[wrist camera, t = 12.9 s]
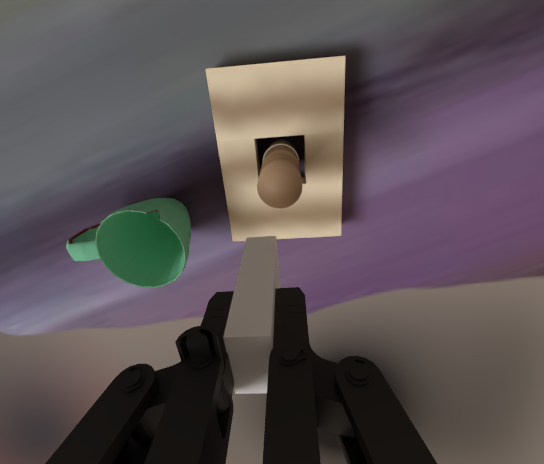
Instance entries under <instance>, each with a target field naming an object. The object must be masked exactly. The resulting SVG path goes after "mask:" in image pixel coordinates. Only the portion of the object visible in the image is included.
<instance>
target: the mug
mask: <svg viewBox="0 0 544 464" xmlns="http://www.w3.org/2000/svg"><path fill="white" fill-rule="evenodd" d="M190 239H191V224H190V217H189V213H188V211H187V208H186V207H185V206H184V204H183V203H181V202H180V201H178V200H176V199H173V198H155V199H149V200H145V201H142V202H138V203H135V204H131V205H129V206H126V207H124V208H121V209H118V210H116V211H115V212H113V213H112V214H111V215H109V216H108V217H107V218H105V219H104V220H103V221H102V222H101V223H100V224H98V225H95V226H92V227H90V228H87V229H84V230H83V231H81V232H79V233H78V234H76V235H75V236H73V237H72V238H70V239H69V240H68V242H67V246H66V248H67V250H68V252H69V254H70V255H71V257H72V258H73V259H74V260H75V261H88V260H95V259H101V260H102V262H103V264H104V265H105V267H106V268H107V269H108V270H110V271H111V272H112V273H113V274H114V275H115V276H116V277H118V278H120V279H121V280H123V281H125V282H127V283H129V284H132V285H135V286H139V287H147V288H156V287H161V286H165V285H168V284H169V283H171V282H173V281H174V280H176V279H177V278H178V277H179V275H180V274H181V273H182V271H183V270H184V268H185V265H186V262H187V258H188V255H189V244H190Z"/></svg>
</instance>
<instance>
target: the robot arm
mask: <svg viewBox="0 0 544 464" xmlns="http://www.w3.org/2000/svg"><path fill="white" fill-rule="evenodd" d="M176 345H177V348H178V352H179V355H180V358H181V362H179V363H178V364H176V365H173V366H170V367H167V368H164V369H161V370H158V371H154V369H153V368H152V366H150V365H148V364H136V365H133V366H130V367H128V368H127V369H125V370H123V371H122V372H121V373H120V374H119V375H118V376H117V377H116V378H115V379H114V380H113V381H112V383H111V384H110V385H109V386H108V387H107V389H106V390H105V391H104V392H103V394H102V395H101V396H100V397H99V399H98V400H97V401H96V402H95V403H94V405H93V406H92V407H91V408H90V409H89V411H88V412H87V413H86V414H85V416H84V417H83V418H82V419H81V421H80V422H79V423H78V424H77V425H76V427H75V428H74V429H73V430H72V432H71V433H70V434H69V435H68V437H67V438H66V439H65V440H64V441H63V443H62V444H61V445H60V447H59V448H58V449H57V450H56V451H55V453H54V454H53V455H52V456H51V457H50V459H49V460H48V461H47V462H46V464H225V463H226V457H227V450H228V442H229V436H230V430H231V423H232V416H233V401H232V393H233V387H234V388H235V393H236V394H251V393H267V401H266V417H265V434H264V451H263V464H320V453H319V443H318V431H317V427H319V428H322V429H325V430H327V431H330V432H333V433H336V435H337V438H338V440H339V443H340V446H341V449H342V451H343V454H344V457H345V459H346V462H347V464H437V463H436V461H435V459H434V458H433V456H432V454H431V453H430V451H429V450H428V448H427V446H426V445H425V443H424V441H423V440H422V438H421V437H420V435H419V433H418V432H417V430H416V429H415V427H414V425H413V424H412V422H411V420H410V419H409V417H408V416H407V414H406V412H405V410H404V409H403V407H402V406H401V404H400V403H399V401H398V399H397V397H396V396H395V394H394V393H393V391H392V389H391V388H390V386H389V384H388V383H387V381H386V379H385V378H384V376H383V375H382V373H381V371H380V370H379V369H378V367H377V366H376V365H375V364H374V363H373V362H371V361H369V360H368V359H366V358H363V357H359V356H349V357H346V358H344V359H342V360H341V361H340V362H339V363H336V362H332V361H328V360H325V359H323V358H321V357H319V356H318V355H316V354H315V353H314V352H313V350H312V349H311V347H310V344H309V337H308V326H307V315H306V304H305V295H304V293H303V292H302V291H301V289H300V288H299V287H296V288H280V271H279V261H278V250H277V239H276V236H264V237H247V238H246V242H245V246H244V251H243V255H242V259H241V264H240V268H239V272H238V276H237V281H236V285H235V289H234V291H229V292H216V293H215V294H214V296H213V297H212V298H211V299H210V300H209V302H208V305H207V308H206V311H205V314H204V319H203V321H202V323H201V326H197V327H193V328H191V329H188V330H186V331H185V332H184V333H183V334H181V335H180V336H179V337H178V339H177V341H176Z"/></svg>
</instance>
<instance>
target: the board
mask: <svg viewBox="0 0 544 464" xmlns="http://www.w3.org/2000/svg"><path fill="white" fill-rule="evenodd" d="M206 75H207V82H208V88H209V94H210V100H211V107H212V113H213V119H214V126H215V132H216V138H217V144H218V151H219V157H220V163H221V170H222V176H223V182H224V188H225V195H226V201H227V207H228V214H229V220H230V226H231V232H232V239H233V241H246V238H247V237H264V236H276V239H288V238H307V237H326V236H341V218H342V176H343V135H344V94H345V56H336V57H326V58H315V59H305V60H294V61H283V62H273V63H262V64H252V65H241V66H231V67H220V68H210V69H206ZM295 135H304V164H305V176H302V177H301V180H302V193H301V195H300V197H299V199H298V200H297V201H296V202H295V203H294V204H293V205H291V206H289V207H287V208H281V209H278V208H273V207H270V206H268V205H267V204H265V203H264V202H263V201H262V200H261V198H260V197H259V195H258V191H257V183H258V179H259V175H260V164H259V154H258V144H257V138H269V137H282V136H295Z"/></svg>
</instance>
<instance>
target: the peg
mask: <svg viewBox="0 0 544 464" xmlns="http://www.w3.org/2000/svg"><path fill="white" fill-rule="evenodd" d="M257 191H258V195H259V197H260V198H261V200H262V201H263V202H264V203H265V204H267V205H268V206H270V207H273V208H278V209H281V208H287V207H289V206H291V205H293V204H294V203H295V202H296V201H297V200H298V199H299V197H300V195H301V193H302V180H301V174H300V168H299V157H298V154H297V150H296V148H295V146H294V145H293V144H292V143H291V142H289V141H287V140H284V139H279V140H275V141H273V142H272V143H270V144H269V145H268V147H267V149H266V151H265V154H264V156H263V163H262V167H261V171H260V175H259V179H258V183H257Z"/></svg>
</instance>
